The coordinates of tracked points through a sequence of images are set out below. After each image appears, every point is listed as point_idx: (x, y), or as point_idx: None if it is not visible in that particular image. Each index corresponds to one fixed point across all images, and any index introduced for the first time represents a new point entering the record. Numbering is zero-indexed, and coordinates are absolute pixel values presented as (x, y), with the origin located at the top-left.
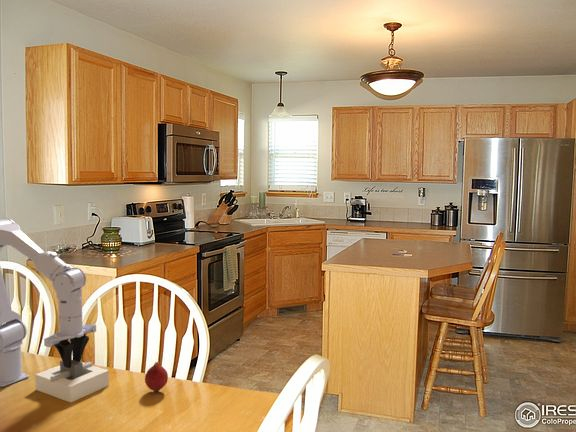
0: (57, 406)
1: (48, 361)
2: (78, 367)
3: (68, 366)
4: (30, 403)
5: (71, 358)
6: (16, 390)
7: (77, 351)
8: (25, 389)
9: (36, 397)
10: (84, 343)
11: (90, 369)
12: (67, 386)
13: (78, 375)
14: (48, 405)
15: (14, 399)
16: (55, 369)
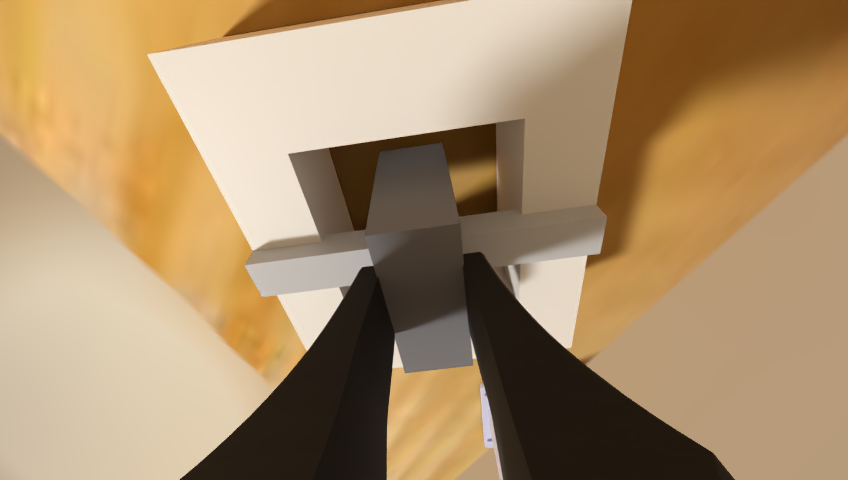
0: (651, 5)
1: None
2: (415, 210)
3: (487, 261)
4: (669, 178)
5: (478, 305)
6: (584, 325)
7: (367, 378)
8: None
9: None
10: (262, 459)
11: (295, 202)
12: (623, 26)
13: (417, 174)
14: (658, 73)
15: (657, 264)
16: None
